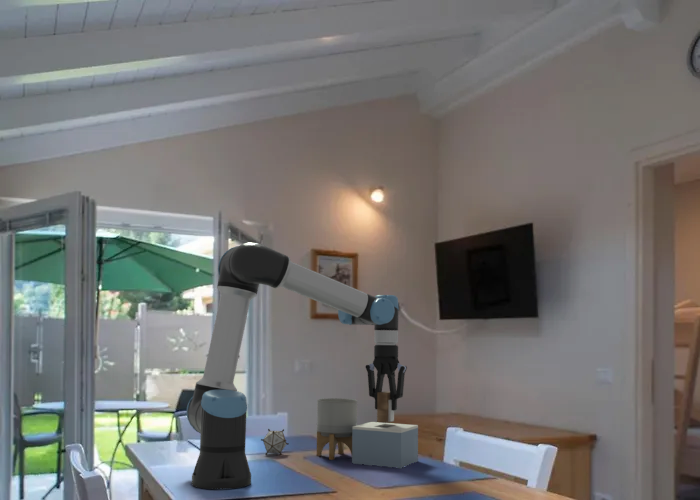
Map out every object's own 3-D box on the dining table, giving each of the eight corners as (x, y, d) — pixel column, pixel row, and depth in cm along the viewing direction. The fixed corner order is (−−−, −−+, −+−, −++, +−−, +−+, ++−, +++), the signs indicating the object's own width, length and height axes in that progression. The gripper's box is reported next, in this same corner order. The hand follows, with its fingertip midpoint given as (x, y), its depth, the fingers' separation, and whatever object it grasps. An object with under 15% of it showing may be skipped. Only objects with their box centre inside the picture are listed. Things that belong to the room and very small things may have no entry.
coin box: (400, 468, 207) (401, 430, 209) (352, 463, 214) (352, 426, 216) (417, 461, 220) (418, 425, 221) (371, 456, 227) (371, 421, 228)
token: (393, 421, 221) (393, 391, 222) (386, 422, 215) (386, 392, 216) (384, 420, 222) (385, 391, 223) (377, 422, 217) (377, 392, 218)
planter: (311, 458, 222) (312, 401, 224) (322, 452, 235) (323, 397, 237) (351, 460, 219) (352, 402, 221) (360, 454, 232) (361, 399, 234)
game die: (278, 465, 230) (296, 439, 234) (274, 460, 223) (292, 433, 226) (257, 450, 233) (275, 424, 236) (252, 444, 226) (270, 418, 229)
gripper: (414, 344, 221) (414, 421, 218) (368, 343, 228) (367, 418, 226) (405, 344, 215) (405, 423, 212) (358, 343, 222) (357, 420, 219)
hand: (385, 420), depth 219 cm, fingers closed on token, 3 cm apart
